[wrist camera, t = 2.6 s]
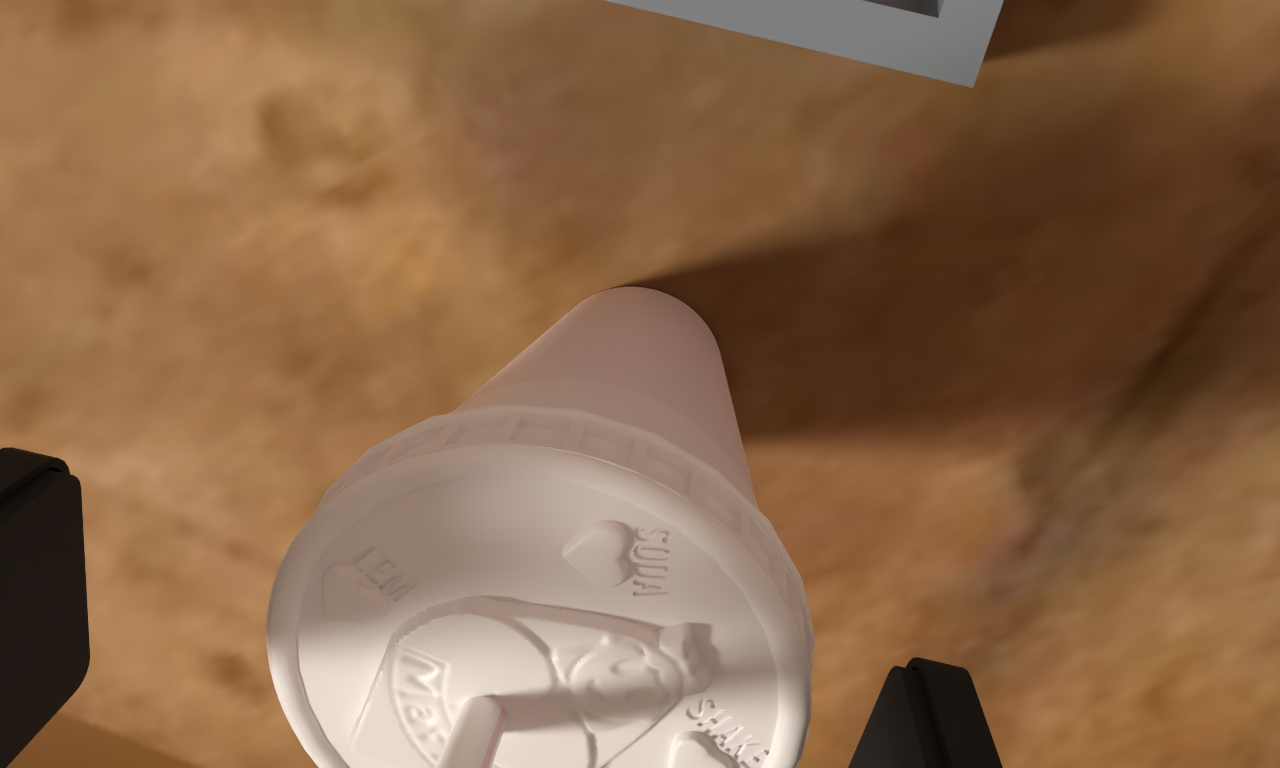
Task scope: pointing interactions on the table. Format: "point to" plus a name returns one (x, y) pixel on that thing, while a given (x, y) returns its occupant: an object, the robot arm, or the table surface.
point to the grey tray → (860, 29)
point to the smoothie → (553, 573)
